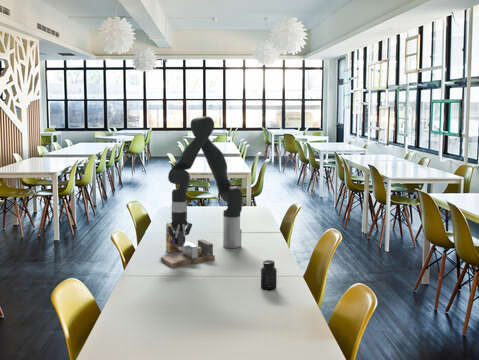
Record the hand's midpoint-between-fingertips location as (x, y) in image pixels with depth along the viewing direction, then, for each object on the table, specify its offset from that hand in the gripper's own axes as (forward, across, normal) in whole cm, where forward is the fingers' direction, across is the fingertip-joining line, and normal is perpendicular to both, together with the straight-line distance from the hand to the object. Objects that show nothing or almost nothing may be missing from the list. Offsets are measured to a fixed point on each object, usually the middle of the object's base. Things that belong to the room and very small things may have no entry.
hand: (179, 244), depth 255 cm
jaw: (+7, -3, 0) cm, 8 cm away
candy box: (+9, -7, -18) cm, 21 cm away
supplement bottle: (+9, -16, +52) cm, 55 cm away
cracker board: (+9, -5, 0) cm, 10 cm away
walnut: (+7, -10, 0) cm, 12 cm away
